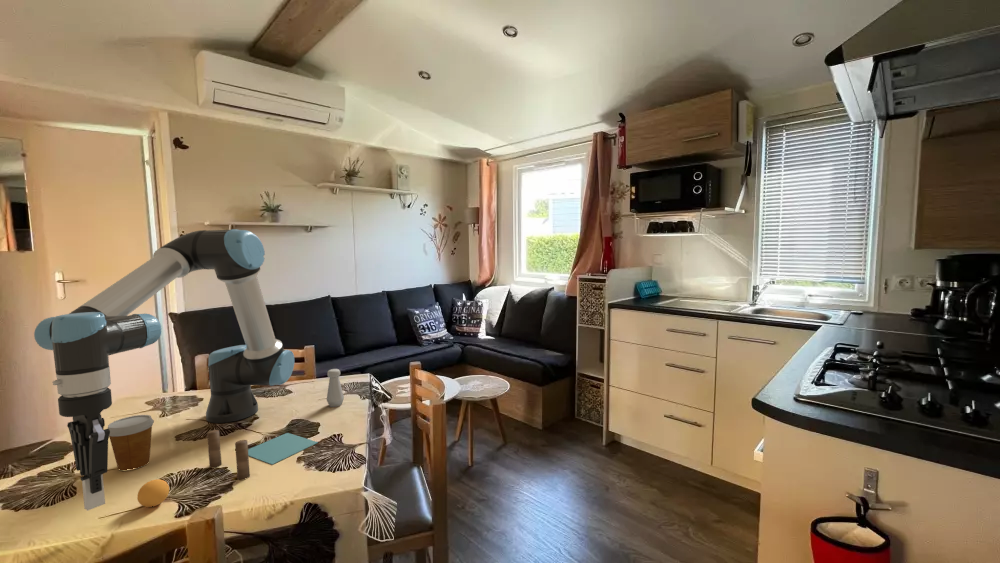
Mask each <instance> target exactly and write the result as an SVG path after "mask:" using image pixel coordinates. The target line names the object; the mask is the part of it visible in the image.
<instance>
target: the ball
mask: <svg viewBox="0 0 1000 563" xmlns="http://www.w3.org/2000/svg"><path fill="white" fill-rule="evenodd" d="M169 493H170V485H169V484H168V482H167V481H165V480H163V479H159V478H156V479H150V480H149V481H148V482H146V483H144V484H143V485H142V486H141V487H140V489H139V490H138V492H137V497H136V498H137V501H138V503H139V505H141V506H143V507H146V508H151V507H152V506H153V507H156V506H158V505H160V504H162V503H163V502H164V501H165V500H166V499H167V497H168V495H169Z"/></svg>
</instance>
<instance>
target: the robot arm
mask: <svg viewBox="0 0 1000 563" xmlns="http://www.w3.org/2000/svg"><path fill="white" fill-rule="evenodd" d="M265 255H266V254H265V248H264V245H263V242H262V241H261V239H260V238H259V237H258V235H256V234H255V233H253V232H252V231H250V230H247V229H234V228H232V229H213V230H211V229H210V230H206V229H205V230H196V231H191V232H188V233H185V234H183V235H181V236H179V237H176V238H175V239H173V240H171V241H169V242H167V243H166V244H164V245H162V246H161V247H159V248H158V249H156V250H155V251H154V252H153V255H152V258H150V259H148V260H147V261H146V262H144V263H142V264H141V265H140V266H138V267H137V268H135V269H133V270H132V271H131V272H129V273H128V274H127V275H125V276H124V277H122V278H120V279H119V280H117V281H116V282H114V283H113V284H112V285H111V284H110V286H108V287H107V288H105V289H104V290H102V291H101V292H100V293H98V294H97V295H94V296H93V297H91V299H90V298H89V300H87V301H86V302H84V303H82V305H80V306H78V307H77V308H75V309H74V310H72V311H71V312H69V313H64V314H59V315H56V316H50V317H47V318H44V319H43V320H41V321H40V322H39V323H38V324H37V325H36V328H34V332H33V337H34V340H35V342H36V345H38V346H39V347H41V348H42V349H45V350H46V351H47V350H48V351H53V360H54V369H55V377H56V379H55V380H53V381H52V385H53V386H56V387H57V388H56V389H57V394H58V395H59V397H58V398H57V403H58V404H57V405H58V406H57V407H58V413H59V416H61V417H65V418H72V421H70V422H67V424H66V427H67V428H68V431H69V434H70V439H71V447H72V452H73V457H74V462H75V469H76V471H77V472H78V471H79V475H80V477H79V478H80V480H81V484H82V494H83V495H82V496H83V497H82V498H83V506H84V510H86V511H90V510H93V509H96V508H97V507H100V506H103V505H106V498H105V487H104V474H105V473H108V470H109V469H108V468H109V467H108V466H109V464H108V463H109V462H108V460H109V457H108V456H109V440H110V437H109V435H110V430H109V429H108V428H105V424H106V423H105V418H104V417H102V414H101V413H102V412H103V411H104V410H107V409H109V408H110V407H111V406H112V405H113V400H112V389H111V388H109V387H110V386H111V384H112V381H111V370H110V362H109V361H110V360H109V359H110V358H109V356H112V355H115V354H116V355H117V354H120V353H124V352H129V351H132V350H136V349H143V348H145V347H147V346H151V345H153V344H155V343H156V342H158V340H159V339H160V338H161V336H162V325H161V323H160V322H161V321H159V319H158V317H156V316H154V315H152V314H150V313H132V312H134V311H135V310H136V309H138V308H139V307H140V306H142V305H143V304H144V303H145V302H147V301H148V300H149V299H151V298H152V297H153V296H155V295H157V293H159V292H160V291H162V289H164V288H165V287H166V286H168V285H169V284H170V283H172V282H173V281H174V280H176V279H178V278H180V279H181V278H184V277H186V276H188V274H190V273H192V272H195V271H196V272H197V271H200V270H201V271H202V270H214V273H215V275H216V279H217V281H221V282H223V283H225V286H226V290H227V294H228V295H229V298H230V302H231V305H232V307H233V310H234V314H235V317H236V320H237V322H238V325H239V328H240V332H241V335H242V338H243V340H244V343H245V344H239V345H234V346H229V347H224V348H220V349H217V350H214V351H212V352H211V353H209V355H208V365H207V366H208V376H209V388H210V398H209V401H208V404H207V409H206V411H205V419H206V420H205V421H206V422H208V423H212V424H219V423H220V424H222V423H231V422H236V421H241V420H244V419H246V418H249V417H251V416H253V415H255V414H256V413H257V412H258V410H259V402H258V401H257V399H256V397H255V395H254V392H253V391H252V386H271V387H272V386H278V385H279V386H281V385H284V384H285V383H287V382H288V381H289V379H290V378H291V376H292V374H293V370H294V368H295V354H294V352H293V351H291V350H289V349H284V345H283V342H282V341H281V340H280V339H277V338H276V336H275V332H274V330H273V326H272V322H271V320H270V316H269V312H268V309H267V306H266V303H265V299H264V295H263V292H262V288H261V286H260V282H259V279H258V276H257V275H258V274H259V273H260V272H261V266H262V265H263V264H264V262H265V257H264V256H265ZM131 313H132V314H131ZM104 428H105V429H104Z"/></svg>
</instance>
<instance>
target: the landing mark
mask: <svg viewBox="0 0 1000 563" xmlns="http://www.w3.org/2000/svg"><path fill="white" fill-rule="evenodd" d="M318 443H319V441H315V440H312V439H309V438H306V437H302V436H299V435H296V434H292V433H289V432H286V433H284V434H282V435H279V436H276V437H274V438H272V439H269V440H267V441H265V442H263V443H260V444H258V445H255V446H253V447H250V448H248V457H249V458H253V459H256V460H258V461H261V462H264V463H266V464H269V465H271V466H272V465H275V464H276V463H279V462H281V461H283V460H285V459H288V458H290V457H292V456H294V455H296V454H298V453H300V452H302V451H304V450H306V449H309V448H310V447H312V446H314V445H317V444H318Z"/></svg>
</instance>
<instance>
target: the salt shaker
mask: <svg viewBox="0 0 1000 563" xmlns="http://www.w3.org/2000/svg"><path fill="white" fill-rule="evenodd" d="M340 376H341V370H340V369H338V368H332V369H329V370H328V371H327V377H328V378H329V380H328V381H329V382H328V386H327V387H328V388H327V394H326V402H327V404H328V406H329V407H330V408H337V407H341V406H342V404H343V402H344V398H345V397H344V392H343V388H342V384H341V379H340Z"/></svg>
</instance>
